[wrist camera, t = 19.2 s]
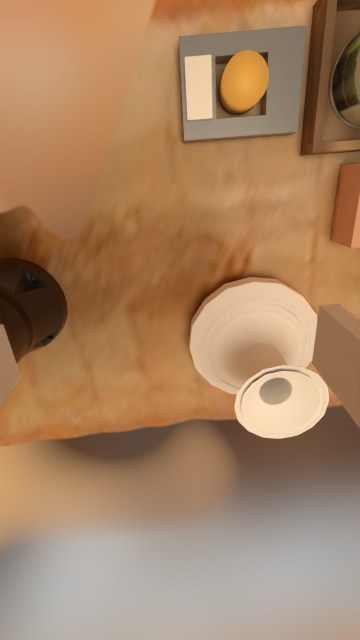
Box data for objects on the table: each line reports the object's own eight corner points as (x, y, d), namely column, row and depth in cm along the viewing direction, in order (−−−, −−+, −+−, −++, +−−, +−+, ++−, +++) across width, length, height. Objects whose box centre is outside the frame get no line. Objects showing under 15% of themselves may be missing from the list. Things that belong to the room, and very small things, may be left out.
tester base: (184, 142, 40) (184, 139, 37) (178, 45, 36) (178, 34, 33) (290, 134, 39) (299, 131, 37) (298, 35, 35) (308, 22, 33)
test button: (218, 115, 38) (223, 108, 34) (218, 65, 36) (222, 52, 32) (259, 112, 37) (267, 105, 34) (261, 62, 35) (270, 48, 32)
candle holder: (276, 388, 56) (319, 481, 39) (173, 361, 54) (170, 447, 36) (328, 291, 48) (412, 353, 31) (211, 255, 46) (230, 299, 28)
